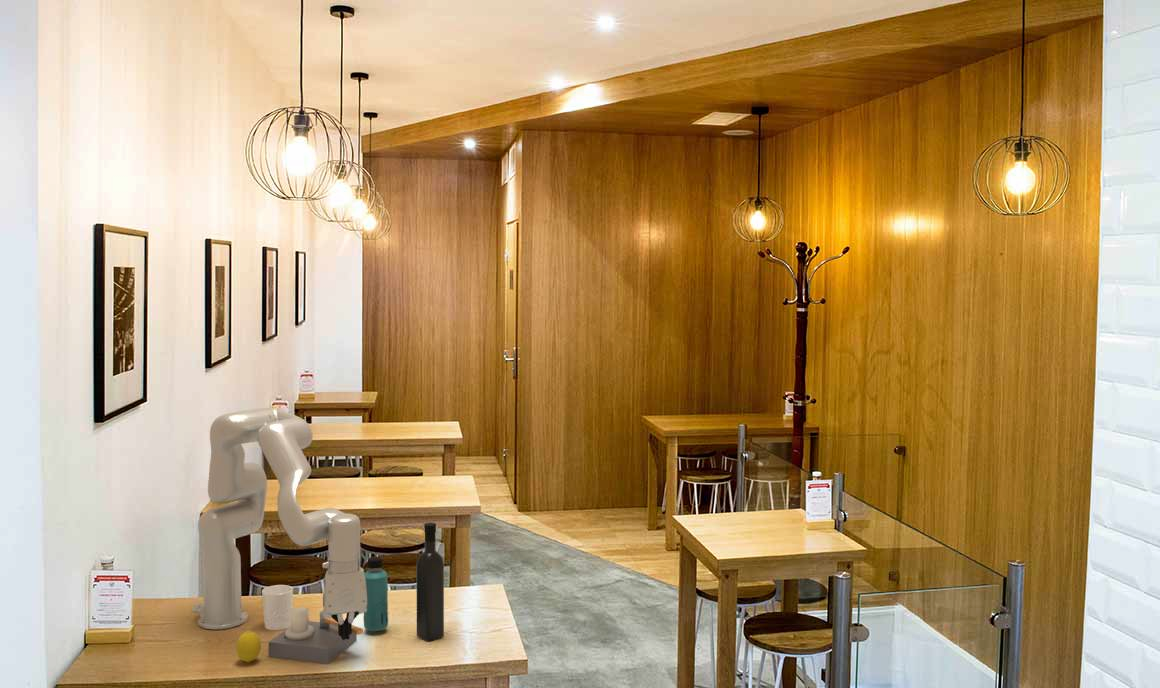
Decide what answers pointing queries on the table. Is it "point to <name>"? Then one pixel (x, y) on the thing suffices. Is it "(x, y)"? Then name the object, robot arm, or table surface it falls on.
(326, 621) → the hammer
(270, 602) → the white cup
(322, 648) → the dock
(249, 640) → the lemon
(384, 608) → the beverage bottle
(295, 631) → the plug
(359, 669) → the table surface
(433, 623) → the wine bottle
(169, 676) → the table surface
